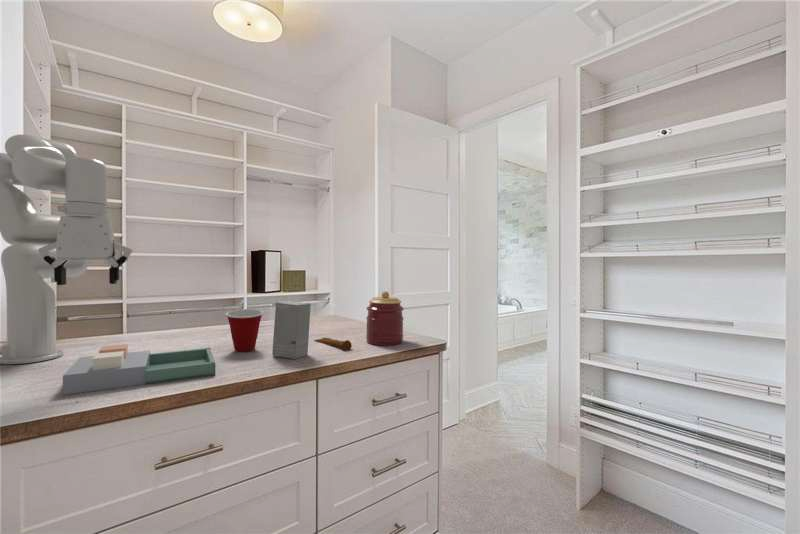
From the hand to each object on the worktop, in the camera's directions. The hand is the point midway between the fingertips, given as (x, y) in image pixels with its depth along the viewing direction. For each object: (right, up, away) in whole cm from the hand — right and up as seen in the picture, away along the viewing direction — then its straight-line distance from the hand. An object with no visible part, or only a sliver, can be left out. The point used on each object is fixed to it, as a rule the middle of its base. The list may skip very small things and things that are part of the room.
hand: (88, 284), depth 87 cm
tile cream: (+9, -18, -5) cm, 21 cm away
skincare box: (+42, -22, +21) cm, 52 cm away
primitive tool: (+51, -23, +36) cm, 66 cm away
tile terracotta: (+5, -18, +2) cm, 19 cm away
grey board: (+7, -22, -1) cm, 23 cm away
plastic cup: (+26, -22, +27) cm, 43 cm away
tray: (+19, -22, +6) cm, 29 cm away
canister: (+69, -22, +41) cm, 83 cm away
